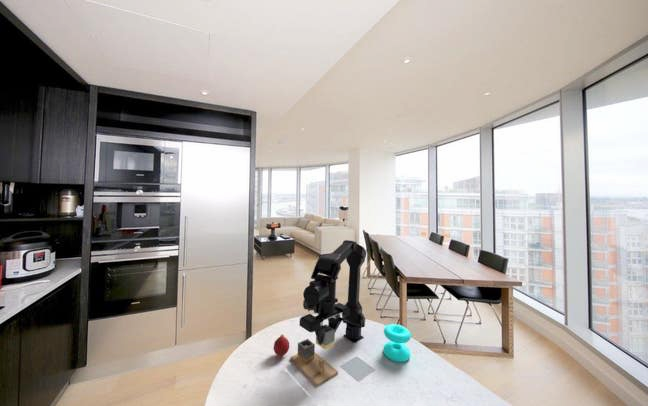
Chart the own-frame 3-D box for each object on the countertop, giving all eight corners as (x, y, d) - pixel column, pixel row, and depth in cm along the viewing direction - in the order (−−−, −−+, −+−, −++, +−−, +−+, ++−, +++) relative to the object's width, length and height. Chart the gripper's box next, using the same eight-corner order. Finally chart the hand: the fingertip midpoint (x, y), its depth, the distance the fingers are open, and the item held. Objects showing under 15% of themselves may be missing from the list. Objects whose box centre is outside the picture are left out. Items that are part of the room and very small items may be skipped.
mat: (356, 357, 87) (356, 356, 87) (375, 370, 80) (375, 369, 80) (339, 367, 82) (339, 366, 82) (358, 382, 75) (358, 381, 75)
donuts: (399, 321, 96) (416, 334, 86) (399, 345, 96) (415, 361, 86) (379, 324, 93) (394, 338, 83) (378, 349, 93) (393, 366, 83)
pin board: (310, 351, 90) (310, 335, 90) (338, 375, 78) (338, 356, 78) (290, 360, 84) (290, 343, 84) (317, 388, 72) (317, 368, 72)
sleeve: (334, 344, 78) (334, 329, 78) (324, 349, 74) (325, 334, 75) (325, 338, 81) (325, 324, 81) (315, 343, 78) (316, 328, 78)
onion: (285, 362, 83) (286, 340, 83) (270, 360, 84) (271, 338, 84) (291, 352, 89) (291, 331, 89) (277, 350, 90) (277, 329, 90)
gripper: (329, 283, 90) (328, 323, 90) (290, 294, 77) (288, 341, 77) (351, 291, 82) (350, 335, 82) (311, 305, 69) (309, 357, 69)
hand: (325, 341), depth 78 cm, fingers closed on sleeve, 4 cm apart
